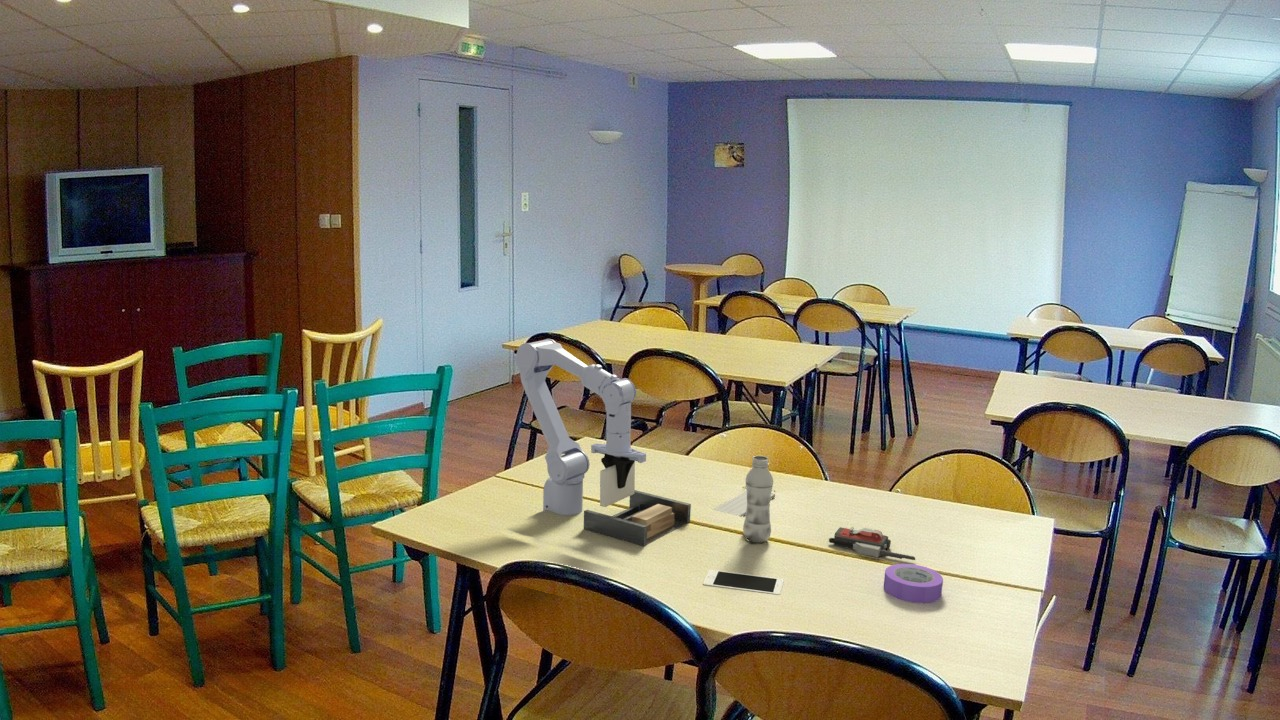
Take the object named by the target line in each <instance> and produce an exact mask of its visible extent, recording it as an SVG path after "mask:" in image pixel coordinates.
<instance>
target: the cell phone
mask: <svg viewBox="0 0 1280 720" xmlns="http://www.w3.org/2000/svg"><path fill="white" fill-rule="evenodd" d="M784 582H785V581H784V579H783V578H778V577H772V576H771V577H769V576H765V575H763V576H762V575H756V574H746V573H741V572H733V571H723V570H717V569H708V572H707V574H706V576H705V578H704V581H703V583H702V585H703V584H704V585H703V586H707V585H711V586H710V587H714V586H719V587H718V588H722V587H726V588H725V589H730V588H731V589H732V590H737V589H739V591H745V590H747V591H746V592H753V593H762V594H770V595H777V596H778V595H781V593H782V588H783V585H784ZM731 589H730V590H731Z"/></svg>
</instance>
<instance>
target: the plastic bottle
mask: <svg viewBox="0 0 1280 720" xmlns="http://www.w3.org/2000/svg"><path fill="white" fill-rule="evenodd" d="M751 466H752V468H751V469H750V470H749V471H748V472H747V474H746V477H745V487H746V488H745V489H746V491H747V509H746V515H745V516H744V522H743V528H742V532H743V533H742V534H743V535H744V537H745V539H746V540H747V541H749V542H753V543H765V542H767V541H768V540H769V539H770V537H771V533H772V526H771V525H772V524H771V516H770V513H771V512H770V506H771V500H770V498H771V493H772V491H773V487H774V477H773V475H772V473H771V472H770V469H768V467H769V466H770V465H769V457H767V456H765V455H754V456H752V462H751Z"/></svg>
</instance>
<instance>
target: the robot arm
mask: <svg viewBox="0 0 1280 720" xmlns="http://www.w3.org/2000/svg"><path fill="white" fill-rule="evenodd" d="M514 361H515V362H516V365H517V367H518V369H519V373H520V375H519V376H520V382H521V385H522V387H523V390H524V392H525V394H526V396H527V399H528V401H529V403H530V405H531V408H532V411H533V413H534V416H535V417H536V419H537V422H538V425H539V428H540V429H541V432H542V434H543V436H544V439H545V441H546V443H547V446H548V449H547V451H546V454H545V456H544V459H545V462H546V466H547V473H548V476H549V477H548V478H547V479H546V481H545V482H544V485H543V490H542V491H543V492H542V493H543V494H542V495H543V496H542V497H543V498H542V503H543V504H542V505H543V506H542V511H550V512H552V513H555V514H556V515H561V516H577V515H580V514H581V513H583V507H584V506H583V502H584V501H583V500H584V499H583V498H584V497H583V496H584V479H585V474H586V473H587V472H588V471H589V469H590V459H589V456H588V455H587V454H586V453H585V452H584V450H583V449H582V448H581V446H580V443H579V442H577V441H575V440H574V439H572V438H570V436H569V433H568V432H567V429H566V426H565V424H564V422H563V419H562V417H561V414H560V413H559V411H558V407H557V406H556V403H555V401H554V399H553V397H552V394H551V391H550V390H549V387H548V385H547V382H546V379H547V376H548V375H549V373H550V371H551V370H552V369H553V367H554V366H557V367H558V368H560V369H562V370H563V371H566V372H568V373H569V374H572V375H573V376H576V377H578V378H579V379H580V382H581V385H582V386H583V387H584V388H586V389H588V390H590V391H592V392H593V393H595V394H596V395H598V396H600V397H601V400H602V402H603V404H604V406H605V407H604V409H605V411H606V420H605V421H606V425H605V426H606V427H605V428H606V431H605V434H606V437H605V439H606V440H605V442H606V443H604V444H603V443H598V442H596V443H593V444H591V445H590V446H591V447H590V451H591V453H592V454H601V455H604V456H603V457H602V458H601V459H600V462H601V463H602V465H603V466H604V469H606V468H608V467H611V466H613V465H615V466H616V470H617V485H618V488H619V489H621V488H623V487H625V484H626V480H627V477H628V474H629V471H630V469H631V467H632V465H633V464H634V462H635V463H636V462H637V463H639V464H642V463H645V462H646V461H647V453H646V452H643V451H639V450H637V449H634V448H632V445H631V440H632V439H631V435H632V434H631V431H632V430H631V428H632V426H631V425H632V422H631V421H632V402H633V400H635V398H636V395H637V389H636V386H635V384H634V383H633V382H632V381H631V380H630V379H629V378H626V377H624V378H618V375H616V374H612V373H610V372H608V371H607V370H605V369H603V366H602V365H601V364H598V363H597V364H593V363H592V364H589V365H588V364H586V363H584V362H583V361H581V359H578V358H577V357H576V356H574V355H573V354H571V353H570V352H569V351H567V350H566V349H564V347H563V346H562V344H561V343H559V342H556V341H555V340H554V339H551V338H545V339H542V340H538V341H537V340H536V341H533V342H525V343H522V344H521V345H519V347H518V348H517V351H516V354H515V357H514Z"/></svg>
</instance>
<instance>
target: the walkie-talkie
mask: <svg viewBox="0 0 1280 720" xmlns="http://www.w3.org/2000/svg"><path fill="white" fill-rule="evenodd" d="M854 528H855V527H853V526H851V527H850V528H847V527H839V528H838V529H837V530H836V531H835V533H834V536H833V537H830V538H828V542H829V543H830V544H833V546H835V547H840V548H843V549H850V550H854V552H856V553H858V554H859V555H864V556H869V557H874V558H879V557H880V556H882V557H890V558H896V559H899V560H900V559H901V560H902V559H905V560H912V561H916V557H915V556H913V555H908V554H902V553H897V552H894V551H893V552H892V551H887V550H886V549H888V550H889V549H891V548H890V547H891V539H889V536H888V535H883V532H882V531H881V530H878V529H872V528H866V527H863V528H861V529H859V530H857V529H854Z"/></svg>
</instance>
